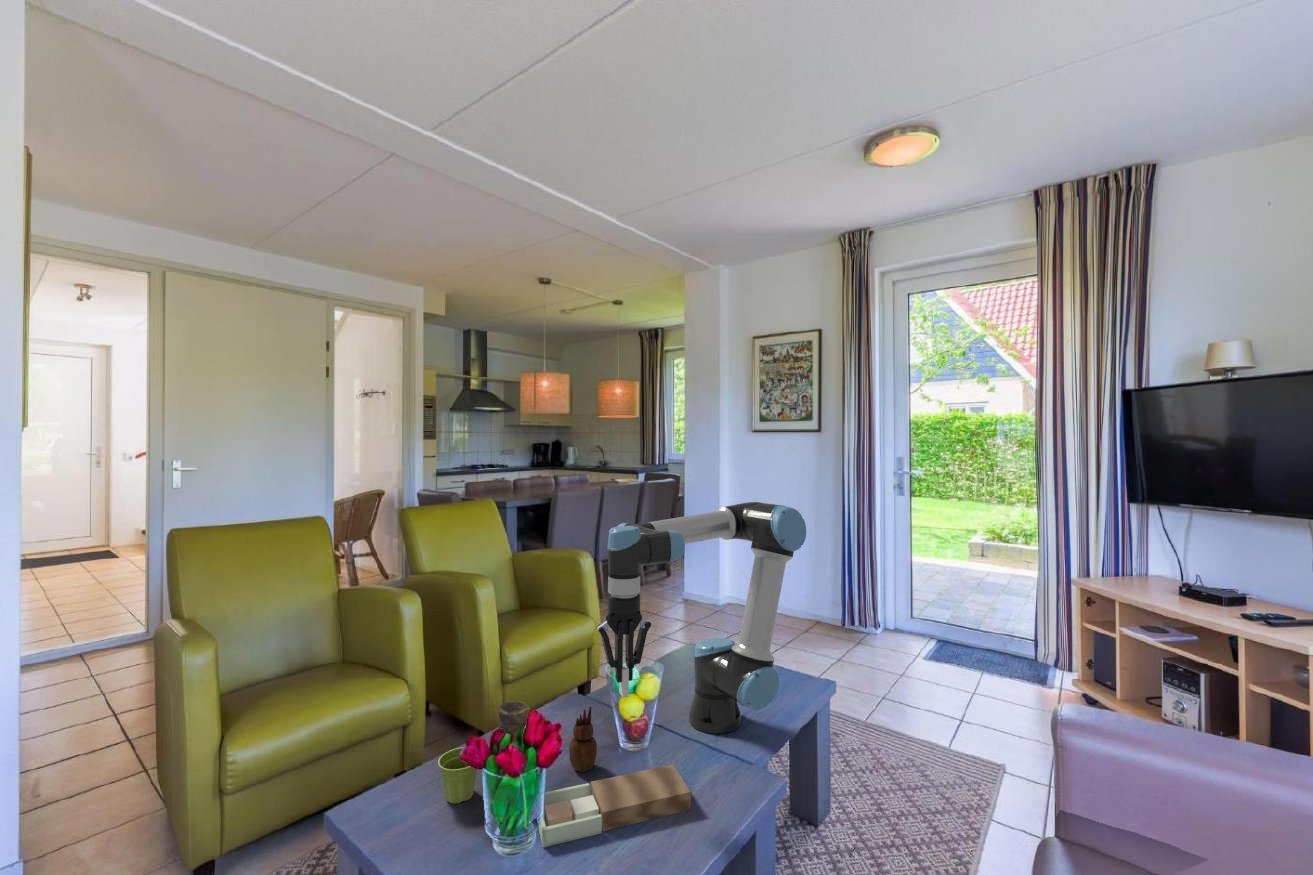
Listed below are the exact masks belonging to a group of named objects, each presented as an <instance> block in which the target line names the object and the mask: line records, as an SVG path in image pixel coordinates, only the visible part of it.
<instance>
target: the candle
mask: <svg viewBox="0 0 1313 875" xmlns="http://www.w3.org/2000/svg"><path fill="white" fill-rule="evenodd" d="M529 713H530V714H531V707H530V705H529V704H528V703H526V702H523V701H506V702H503V703H502V704H500V705H499V706H498V729H499V728H502V729H501V730H503V731H504V732H506V733H508V734H512V735H513V734H515V733H517V732H519V731H521V730H523V729H524V727H525V725H526V720H527V715H528V714H529Z"/></svg>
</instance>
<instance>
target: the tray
mask: <svg viewBox="0 0 1313 875" xmlns="http://www.w3.org/2000/svg"><path fill="white" fill-rule="evenodd" d="M544 792H545V800H544V817H543V815H542V818H541V820H540V827H539V829H538V833H539V838H540V842H541V846H542V848H548V847H551V846H554V845H555V846H556V845H559V844H563V843H568V842H571V841H576V840H580V839H584V838H588V837H592V836H595V835H599V834H600V835H601V834H602V832H603V830H602V816H601V814H599V815H595V816H590V817H586V818H582V819H578V820H573V817H572V821H569V822H565V823H560V824H556V825H552V826H547V825H546V821H545V805H550V804H554V803H559V802H563V801H568V803H569V806H570V809H571V800H574V799H578V798H582V797H587V796H590V783H589V782H588V783H583V784H578V785H573V786H568V787H564V788H563V787H562V788H559V789H555V790H549V791H544Z"/></svg>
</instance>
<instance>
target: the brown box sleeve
mask: <svg viewBox="0 0 1313 875" xmlns="http://www.w3.org/2000/svg"><path fill="white" fill-rule="evenodd" d="M675 767H676V766H674V764H668V765H664V766H660V767H659V766H658V767H653V768H650V769H645V770H644V769H643V770H639V771H634V772H630V773H626V774H621V775H617V776H612V777H607V778H603V779H598V780H592V781H590V796H591V795H593V797H594V799H595V801H596V804H597V806H598V808H599V814H601V816H602V832H605V831H609V830H614V829H617V828H618V829H619V828H622V827H625V826H630V825H633V824H639V823H642V822H647V821H650V820H655V819H659V818H663V817H666V816H671V815H675V814H679V813H684V812H687V811H691V810H692V803H691V802H692V796H691V795H692V791H691V790H690V788H689V787H688V785H687V784H686V782H685V781H684V779H683V778H682V776H681V775H680V773H679V771H677V768H675Z"/></svg>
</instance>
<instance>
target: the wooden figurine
mask: <svg viewBox="0 0 1313 875" xmlns="http://www.w3.org/2000/svg"><path fill="white" fill-rule="evenodd" d="M593 726H594V725H593V724H592V706H590V707H589V709H588V714H587V713H586V709H583V715H582V713H579V717H576V720H575V724H574V725H573V728H572V732H573V733H572V734H573V737H572V738H571V740H570V742H569V745H568V746H569V748H568V749H569V761H570V764H571V767H572V768H573V769H574V770H575V771H577V772H583V773H584V772H588V771H590V770H591V769H593V767H594V765H595V763H596V760H597V754H598V742H597V740H596V739H595V737H593V735H594V727H593Z"/></svg>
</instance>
